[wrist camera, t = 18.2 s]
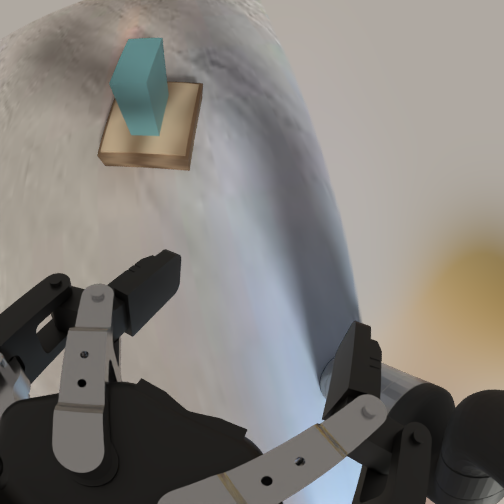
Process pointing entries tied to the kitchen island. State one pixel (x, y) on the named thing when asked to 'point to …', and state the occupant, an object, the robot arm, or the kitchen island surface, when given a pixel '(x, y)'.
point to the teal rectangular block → (141, 85)
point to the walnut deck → (156, 147)
